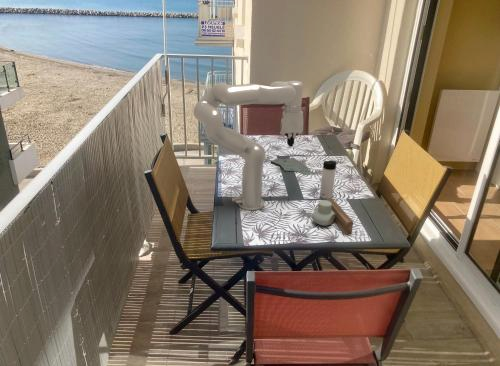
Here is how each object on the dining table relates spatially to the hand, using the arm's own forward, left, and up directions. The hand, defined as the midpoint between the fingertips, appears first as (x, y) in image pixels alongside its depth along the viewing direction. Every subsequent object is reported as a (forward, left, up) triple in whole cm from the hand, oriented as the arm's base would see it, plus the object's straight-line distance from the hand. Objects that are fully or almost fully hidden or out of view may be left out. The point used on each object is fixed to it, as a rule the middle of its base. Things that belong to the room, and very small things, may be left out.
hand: (290, 145), depth 200 cm
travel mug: (+19, -6, -27) cm, 34 cm away
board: (+15, -29, -27) cm, 42 cm away
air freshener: (+8, -28, -27) cm, 40 cm away
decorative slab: (+15, +36, -28) cm, 48 cm away
